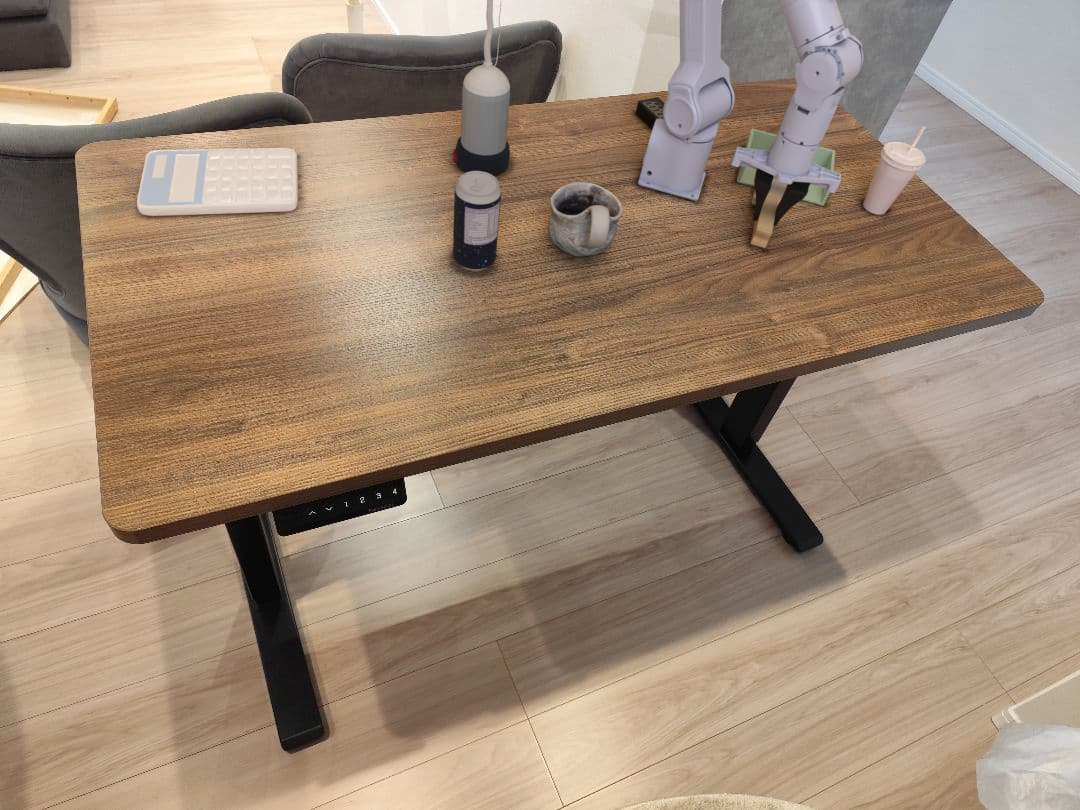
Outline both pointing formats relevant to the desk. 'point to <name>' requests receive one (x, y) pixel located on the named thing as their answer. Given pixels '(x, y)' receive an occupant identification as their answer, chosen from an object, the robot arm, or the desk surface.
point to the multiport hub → (650, 110)
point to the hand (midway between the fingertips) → (764, 219)
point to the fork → (767, 214)
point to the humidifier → (484, 114)
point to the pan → (747, 177)
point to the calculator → (218, 181)
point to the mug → (583, 218)
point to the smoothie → (893, 174)
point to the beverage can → (476, 220)
